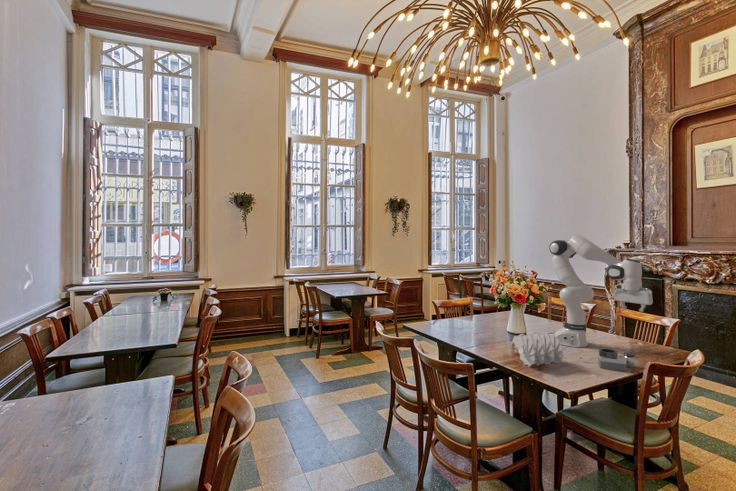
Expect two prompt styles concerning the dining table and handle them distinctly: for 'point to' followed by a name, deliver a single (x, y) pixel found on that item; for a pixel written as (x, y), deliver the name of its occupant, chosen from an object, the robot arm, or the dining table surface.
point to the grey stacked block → (611, 360)
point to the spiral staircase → (539, 348)
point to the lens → (629, 359)
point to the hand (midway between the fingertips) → (632, 310)
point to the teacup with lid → (516, 346)
